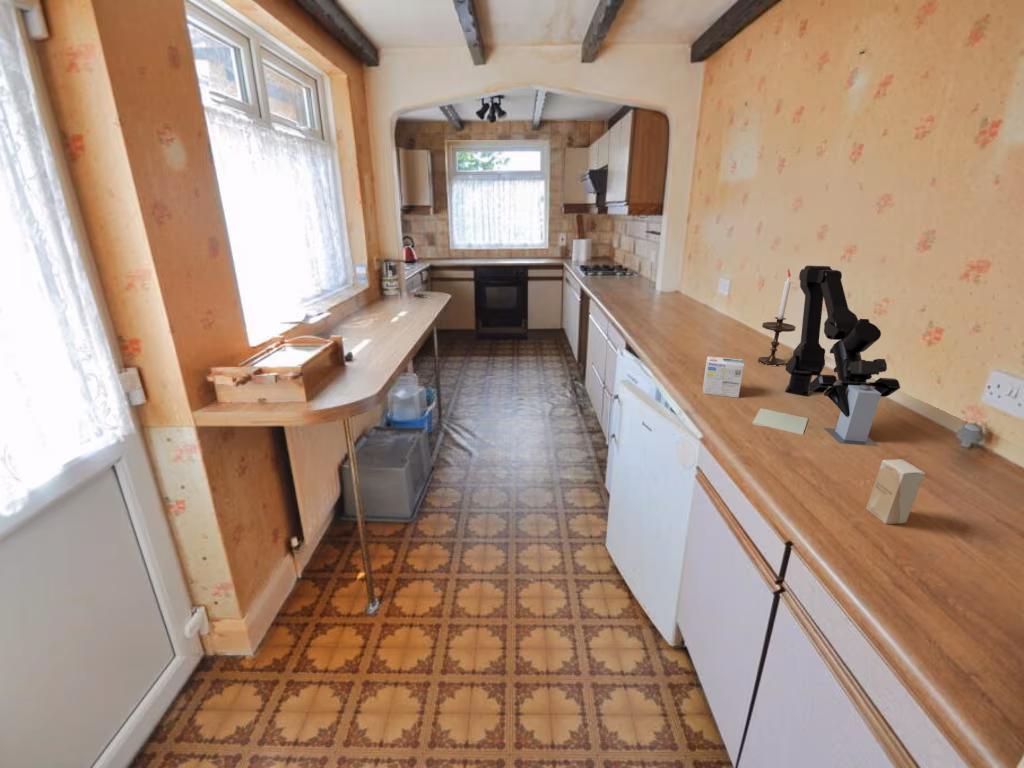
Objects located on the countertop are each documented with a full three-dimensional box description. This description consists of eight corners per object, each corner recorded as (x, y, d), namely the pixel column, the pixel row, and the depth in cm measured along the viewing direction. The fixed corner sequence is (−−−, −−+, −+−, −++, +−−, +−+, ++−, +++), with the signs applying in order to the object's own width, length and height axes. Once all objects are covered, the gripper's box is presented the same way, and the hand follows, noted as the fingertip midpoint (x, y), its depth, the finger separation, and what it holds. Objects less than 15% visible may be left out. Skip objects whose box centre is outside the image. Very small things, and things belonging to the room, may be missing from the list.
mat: (760, 410, 140) (760, 408, 140) (807, 420, 134) (808, 418, 134) (752, 424, 131) (752, 422, 131) (802, 436, 125) (803, 433, 124)
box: (864, 508, 95) (880, 458, 91) (885, 507, 95) (901, 457, 91) (886, 525, 90) (904, 473, 86) (908, 524, 90) (926, 472, 86)
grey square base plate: (822, 429, 129) (826, 417, 128) (859, 431, 128) (863, 419, 126) (839, 444, 120) (842, 432, 119) (878, 447, 119) (882, 435, 118)
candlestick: (751, 362, 183) (770, 268, 171) (760, 356, 191) (778, 265, 179) (783, 368, 177) (804, 271, 164) (790, 362, 184) (811, 268, 172)
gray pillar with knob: (835, 431, 126) (849, 381, 121) (855, 432, 126) (870, 383, 121) (844, 440, 122) (859, 389, 117) (866, 441, 121) (882, 390, 116)
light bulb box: (737, 391, 155) (743, 358, 151) (739, 398, 149) (745, 365, 145) (701, 386, 158) (706, 355, 154) (702, 393, 152) (707, 361, 148)
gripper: (825, 344, 121) (835, 401, 114) (907, 347, 118) (922, 406, 112) (804, 364, 131) (813, 418, 124) (880, 368, 128) (892, 423, 122)
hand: (859, 416), depth 120 cm, fingers closed on gray pillar with knob, 5 cm apart
